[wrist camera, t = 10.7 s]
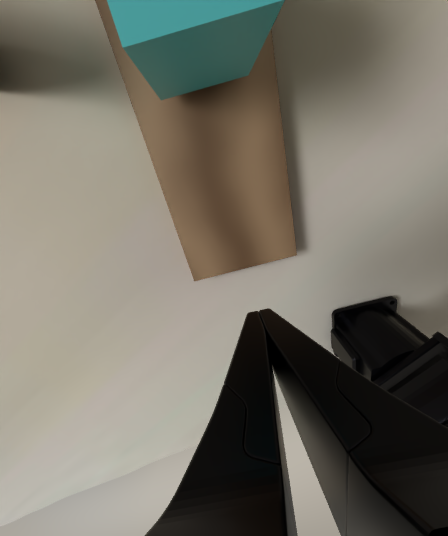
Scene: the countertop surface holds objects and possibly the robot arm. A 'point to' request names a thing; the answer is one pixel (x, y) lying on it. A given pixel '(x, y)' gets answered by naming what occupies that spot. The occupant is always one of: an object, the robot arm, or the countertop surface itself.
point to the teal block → (192, 39)
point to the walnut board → (218, 163)
